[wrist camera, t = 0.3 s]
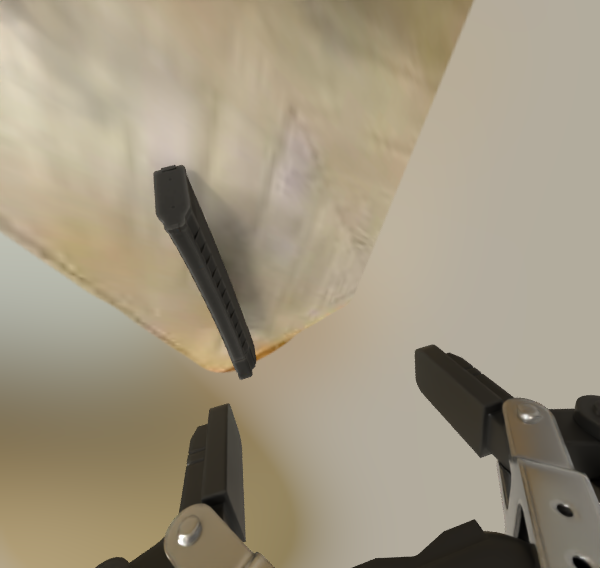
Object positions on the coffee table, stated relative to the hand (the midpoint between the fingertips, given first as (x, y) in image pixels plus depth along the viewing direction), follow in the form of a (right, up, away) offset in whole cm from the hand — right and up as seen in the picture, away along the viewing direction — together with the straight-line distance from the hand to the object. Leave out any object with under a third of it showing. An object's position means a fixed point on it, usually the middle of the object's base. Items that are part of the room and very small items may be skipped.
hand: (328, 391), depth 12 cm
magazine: (-13, +6, +31) cm, 34 cm away
